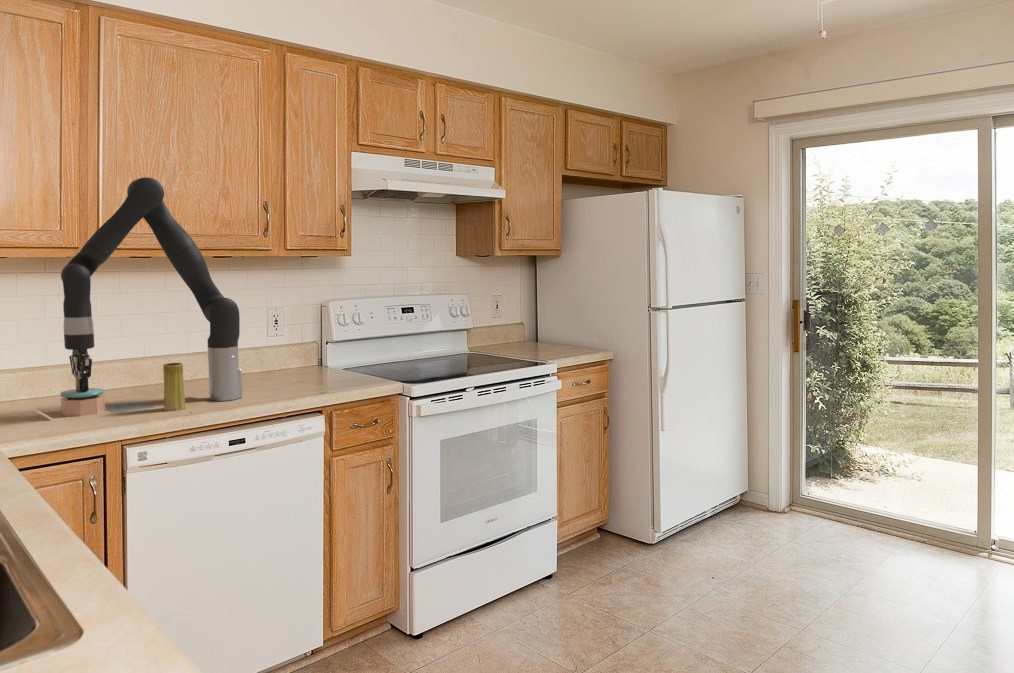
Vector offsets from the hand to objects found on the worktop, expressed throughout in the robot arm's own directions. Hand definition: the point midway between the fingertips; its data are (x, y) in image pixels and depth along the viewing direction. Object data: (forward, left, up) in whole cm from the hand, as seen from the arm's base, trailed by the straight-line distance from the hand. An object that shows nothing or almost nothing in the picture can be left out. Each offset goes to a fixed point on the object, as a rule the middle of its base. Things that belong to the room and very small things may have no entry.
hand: (82, 390), depth 215 cm
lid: (0, 0, -1) cm, 1 cm away
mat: (-12, +1, -7) cm, 14 cm away
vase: (-21, +14, -7) cm, 26 cm away
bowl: (0, 0, -7) cm, 7 cm away
